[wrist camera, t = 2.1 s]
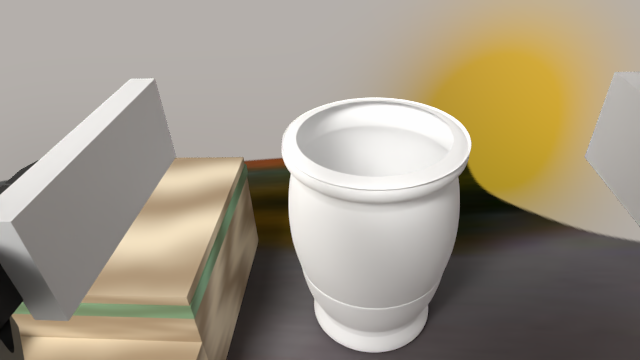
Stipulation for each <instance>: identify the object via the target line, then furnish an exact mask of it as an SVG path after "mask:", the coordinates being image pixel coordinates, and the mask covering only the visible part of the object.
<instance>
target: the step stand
mask: <svg viewBox="0 0 640 360" xmlns="http://www.w3.org/2000/svg"><path fill="white" fill-rule="evenodd" d="M247 176H248V171H247V166H246V164H244V158H243V157H227V158H226V157H225V158H223V157H222V158H175V159H174V161H173V162H172V164H171V165H170V167H169V168H168V170H167V171H166V173H165V174H164V176H163V177H162V179H161V180H160V182H159V184H158V185H157V187H156V188H155V190H154V191H153V193H152V194H151V196H150V197H149V199H148V200H147V202H146V203H145V205H144V207H143V208H142V210H141V211H140V213H139V214H138V216H137V217H136V219H135V220H134V222H133V223H132V225H131V226H130V228H129V230H128V231H127V233H126V234H125V236H124V237H123V239H122V240H121V242H120V243H119V245H118V246H117V248H116V249H115V251H114V253H113V254H112V256H111V257H110V259H109V260H108V262H107V263H106V265H105V266H104V268H103V269H102V271H101V272H100V274H99V276H98V277H97V279H96V280H95V282H94V283H93V285H92V286H91V288H90V289H89V291H88V292H87V294H86V295H85V297H84V298H83V300H82V302H81V303H80V305H79V306H78V308H77V309H76V311H75V312H74V314H73V315H72V317H71V318H70V320H69V321H51V320H35V319H34V318H33V316H32V315H31V313H30V312H29V310H28V309H27V307H26V306H25V304H24V303H23V302H22V303H21V304H20V306H19V307H18V308H17V309H16V311H15V312H14V313H13V314H12V317H13V319H14V320H15V322H16V323H17V325H18V327H19V332H20V337H21V343H22V349H23V354H24V360H226V358H227V354H228V351H229V347H230V343H231V340H232V336H233V332H234V329H235V325H236V322H237V318H238V314H239V311H240V307H241V303H242V300H243V296H244V292H245V289H246V285H247V281H248V278H249V274H250V270H251V267H252V263H253V259H254V256H255V252H256V248H257V245H258V241H259V240H258V235H257V229H256V224H255V218H254V213H253V207H252V202H251V196H250V191H249V186H248V180H247Z"/></svg>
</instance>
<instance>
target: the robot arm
mask: <svg viewBox="0 0 640 360" xmlns="http://www.w3.org/2000/svg"><path fill="white" fill-rule="evenodd" d="M175 157H176V154H175V151H174V147H173V144H172V140H171V136H170V132H169V129H168V125H167V121H166V118H165V114H164V110H163V106H162V103H161V99H160V96H159V92H158V88H157V85H156V81H155V79H130V80H129V81H128V82H126V83H125V84H124V85H123V86H122V87H121V88H120V89H119V90H118V91H116V92H115V93H114V94H113V95H112V96H111V97H110V98H108V99H107V101H105V102H104V103H103V104H102V105H101V106H100V107H98V108H97V109H96V110H95V111H94V112H93V113H92V114H90V115H89V116H88V117H87V118H86V119H85V120H84V121H83V122H82V123H80V124H79V125H78V126H77V127H76V128H75V129H74V130H73V131H71V132H70V133H69V134H68V135H67V136H66V137H65V138H63V139H62V140H61V141H60V142H59V143H58V144H57V145H56V146H55V147H53V148H52V149H51V150H50V151H49V152H48V153H47V154H46V155H44V156H43V157H42V158H41V159H39V160H38V161H36V162H34V163H32V164H30V165H28V166H27V167H25V168H23V169H21V170H20V171H19V172H17V173H16V174H15V175H14V176H13V177H12V178H11V179H9V180H8V181H7V182H6V185H3V186H1V187H0V360H24V354H23V349H22V343H21V337H20V332H19V327H18V325H17V323H16V322H15V320H14V319H13V317H12V314H13V313H14V312H15V311H16V309H17V308H18V307H19V306H20V304H21V303H22V302H23V303H24V304H25V306H26V307H27V309H28V310H29V312H30V313H31V315H32V316H33V318H34V319H35V320H51V321H69V320H70V318H71V317H72V315H73V314H74V312H75V311H76V309H77V308H78V306H79V305H80V303H81V302H82V300H83V298H84V297H85V295H86V294H87V292H88V291H89V289H90V288H91V286H92V285H93V283H94V282H95V280H96V279H97V277H98V276H99V274H100V272H101V271H102V269H103V268H104V266H105V265H106V263H107V262H108V260H109V259H110V257H111V256H112V254H113V253H114V251H115V249H116V248H117V246H118V245H119V243H120V242H121V240H122V239H123V237H124V236H125V234H126V233H127V231H128V230H129V228H130V226H131V225H132V223H133V222H134V220H135V219H136V217H137V216H138V214H139V213H140V211H141V210H142V208H143V207H144V205H145V203H146V202H147V200H148V199H149V197H150V196H151V194H152V193H153V191H154V190H155V188H156V187H157V185H158V184H159V182H160V180H161V179H162V177H163V176H164V174H165V173H166V171H167V170H168V168H169V167H170V165H171V164H172V162H173V161H174V159H175ZM585 158H586V160H587V161H588V162H589V163H590V165H591V166H592V167H593V168H594V169H595V171H596V172H597V174H598V175H599V176H600V177H601V179H602V180H603V181H604V182H605V183H606V185H607V186H608V187H609V189H610V190H611V191H612V192H613V194H614V195H615V196H616V197H617V199H618V200H619V201H620V202H621V204H622V205H623V206H624V207H625V209H626V210H627V211H628V212H629V214H630V215H631V216H632V217H633V219H634V220H635V221H636V223H637V224H638V225H639V226H640V72H615V73H614V76H613V79H612V82H611V84H610V87H609V90H608V93H607V96H606V98H605V101H604V104H603V107H602V110H601V113H600V115H599V118H598V121H597V124H596V127H595V130H594V132H593V135H592V138H591V141H590V144H589V147H588V149H587V152H586V155H585Z"/></svg>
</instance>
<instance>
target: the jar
mask: <svg viewBox="0 0 640 360" xmlns="http://www.w3.org/2000/svg"><path fill="white" fill-rule="evenodd" d="M470 150H471V139H470V136H469V133H468V132H467V130H466V129H465V127H464V126H463V125H462V124H461V123H460V122H459V121H457V120H456V119H454V117H452V116H450V115H449V114H447V113H445V112H443V111H441V110H438V109H436V108H434V107H431V106H428V105H424V104H421V103H417V102H413V101H408V100H401V99H392V98H359V99H349V100H344V101H338V102H334V103H329V104H326V105H323V106H320V107H317V108H315V109H312V110H310V111H308V112H306V113H304V114H303V115H301V116H299V117H298V118H297V119H295V120H294V121H293V122H292V123H291V124H290V125H289V126H288V127H287V129H286V131H285V132H284V134H283V138H282V157H283V160H284V163H285V165H286V167H287V169H288V170H289V171H290V173H291V176H290V183H289V221H290V229H291V234H292V239H293V243H294V247H295V250H296V253H297V256H298V259H299V261H300V263H301V266H302V270H303V273H304V276H305V279H306V282H307V285H308V287H309V289H310V291H311V293H312V295H313V297H314V298H315V299H314V309H315V314H316V317H317V320H318V322H319V324H320V326H321V327H322V328H323V330H324V331H325V332H326V333H327V334H328V335H329V336H330V337H331V338H332V339H334V340H335V341H336V342H338V343H340V344H342V345H343V346H346V347H348V348H351V349H354V350H357V351H362V352H373V353H375V352H386V351H391V350H395V349H397V348H400V347H402V346H404V345H406V344H408V343H409V342H411V341H412V340H413V339H415V338H416V337H417V336H418V334H419V333H420V332H421V331H422V329H423V327H424V325H425V323H426V320H427V316H428V304H429V302H430V301H431V299H432V298H433V296H434V294H435V292H436V290H437V288H438V286H439V283H440V280H441V277H442V274H443V272H444V270H445V268H446V266H447V263H448V261H449V258H450V256H451V253H452V250H453V247H454V243H455V239H456V235H457V229H458V222H459V211H460V190H459V179H458V176H459V175H460V174H461V173H462V171H463V170H464V168H465V166H466V164H467V162H468V159H469V153H470Z"/></svg>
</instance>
